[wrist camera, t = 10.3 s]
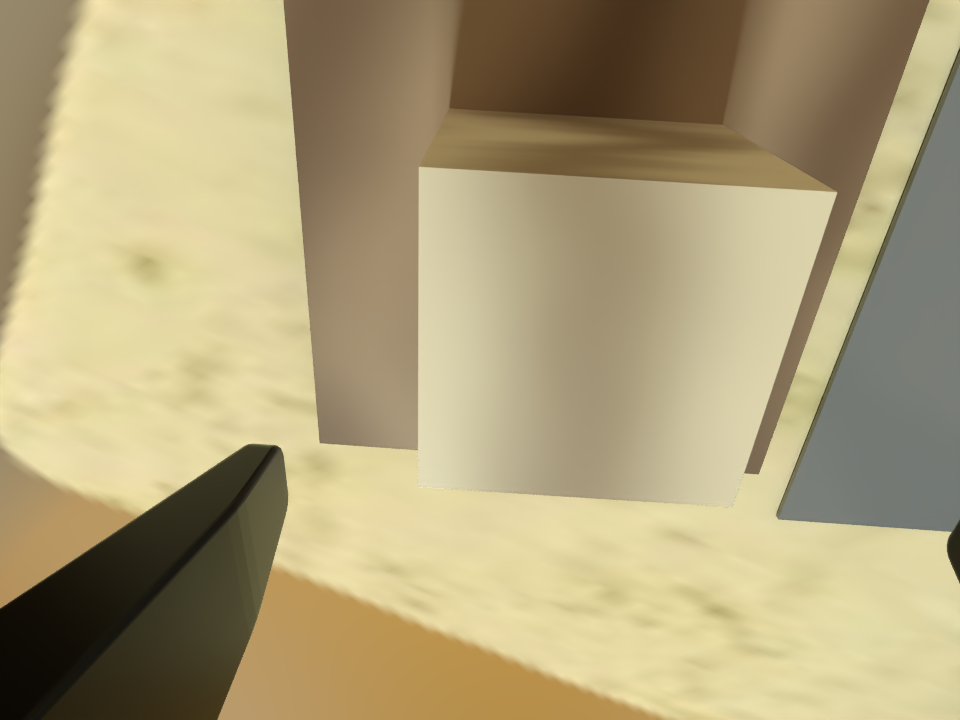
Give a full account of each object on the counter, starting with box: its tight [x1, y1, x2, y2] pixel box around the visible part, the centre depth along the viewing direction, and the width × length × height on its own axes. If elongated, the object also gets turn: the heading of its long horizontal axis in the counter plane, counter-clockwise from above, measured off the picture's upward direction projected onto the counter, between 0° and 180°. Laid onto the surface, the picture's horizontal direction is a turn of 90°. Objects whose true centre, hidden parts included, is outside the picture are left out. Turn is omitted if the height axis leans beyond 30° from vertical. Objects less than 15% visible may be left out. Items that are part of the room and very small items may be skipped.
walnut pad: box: [284, 0, 929, 474], centre depth 17 cm, size 14×14×2 cm
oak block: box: [418, 108, 837, 507], centre depth 14 cm, size 6×6×6 cm
